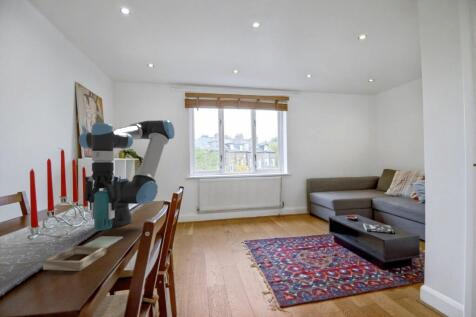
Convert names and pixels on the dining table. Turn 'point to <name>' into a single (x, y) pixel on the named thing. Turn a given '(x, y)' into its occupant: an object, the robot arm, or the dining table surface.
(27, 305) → the dining table surface
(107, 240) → the rubber mat
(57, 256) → the wooden collar
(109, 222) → the beverage bottle
